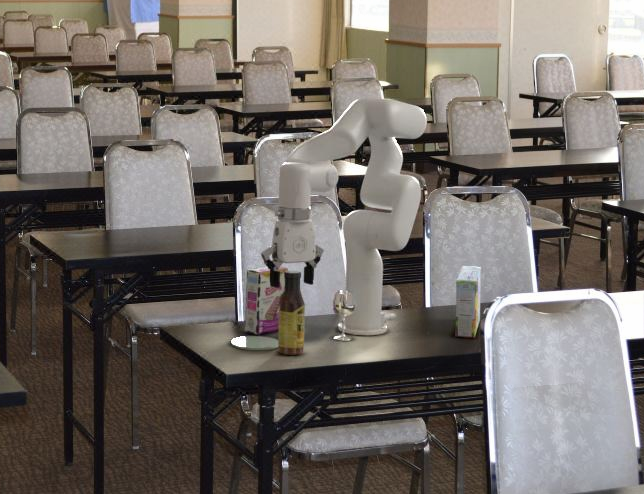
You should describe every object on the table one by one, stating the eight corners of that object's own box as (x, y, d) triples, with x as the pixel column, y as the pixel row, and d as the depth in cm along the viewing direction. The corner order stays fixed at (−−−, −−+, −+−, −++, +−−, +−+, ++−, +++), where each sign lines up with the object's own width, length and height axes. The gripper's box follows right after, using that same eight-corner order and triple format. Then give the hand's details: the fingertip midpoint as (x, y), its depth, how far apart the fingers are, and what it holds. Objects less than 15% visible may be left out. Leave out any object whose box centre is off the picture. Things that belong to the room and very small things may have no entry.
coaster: (263, 336, 315) (263, 334, 315) (289, 346, 304) (289, 344, 304) (222, 341, 309) (222, 339, 309) (248, 352, 298) (248, 349, 298)
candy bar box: (258, 335, 315) (259, 272, 313) (244, 332, 319) (245, 269, 317) (287, 329, 323) (288, 267, 321) (272, 325, 327) (274, 264, 325)
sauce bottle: (301, 357, 295) (303, 275, 292) (276, 355, 296) (277, 273, 294) (305, 350, 301) (307, 270, 299) (279, 348, 302) (281, 268, 300)
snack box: (459, 319, 338) (461, 265, 336) (480, 321, 336) (482, 266, 334) (453, 337, 317) (455, 279, 315) (475, 338, 316) (478, 280, 314)
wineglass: (357, 337, 315) (358, 291, 314) (350, 342, 310) (351, 295, 309) (335, 334, 318) (337, 289, 316) (328, 339, 312) (329, 293, 311)
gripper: (272, 218, 287) (270, 290, 289) (332, 214, 296) (330, 285, 297) (255, 214, 293) (252, 285, 295) (314, 211, 302) (312, 280, 304)
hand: (291, 285), depth 296 cm, fingers open, 9 cm apart
